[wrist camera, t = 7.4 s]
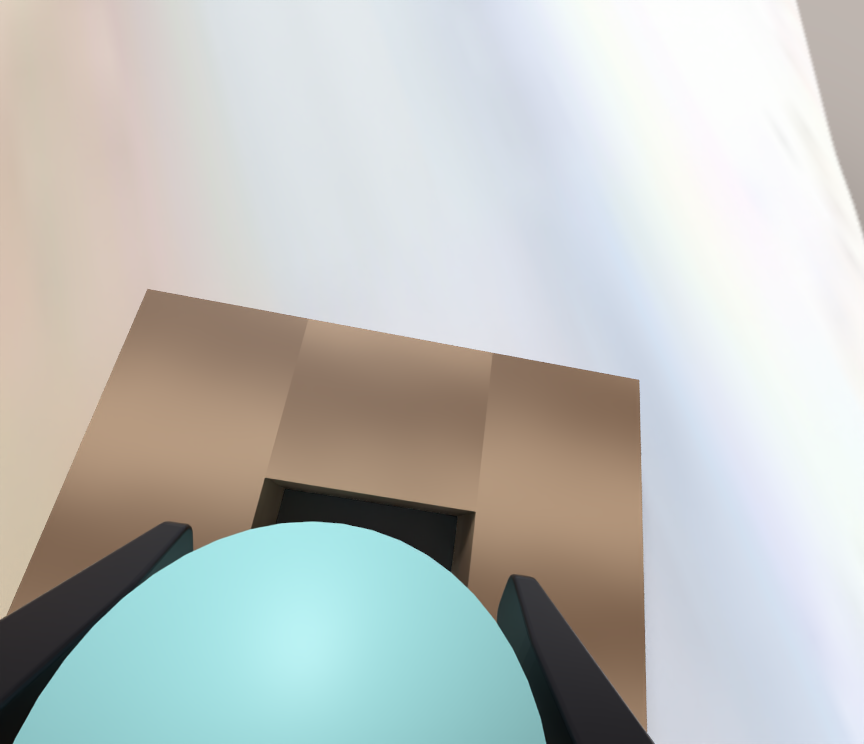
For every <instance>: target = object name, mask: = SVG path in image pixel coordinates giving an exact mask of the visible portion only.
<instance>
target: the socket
mask: <svg viewBox="0 0 864 744" xmlns="http://www.w3.org/2000/svg"><path fill="white" fill-rule="evenodd" d="M284 489H291V490H297V491H304V492H310V493H316V494H322V495H328V496H335V497H341V498H347V499H353V500H360V501H366V502H372V503H378V504H384V505H391V506H397V507H403V508H409V509H415V510H422V511H428V512H434V513H440V514H446V515H453V516H458V518H457V526H456V535H455V543H454V551H453V560H452V568H451V573H452V574H453V575H454V576H455V577H456V578H457V579H458V580H459V581H461V582H462V583H463V584H464V585H465V586H466V587H467V588H468V589H469V590H470V591H471V592H472V593H473V594H474V595H475V596H476V597H477V599H478V600H479V601H480V602H481V604H482V605H483V606H484V607H485V609H486V610H487V611H488V612H489V614H490V615H491V616H492V617H493V619H494V620H495V621H496V623H497V611H498V606H499V603H500V600H501V597H502V594H503V592H504V589H505V586H506V583H507V581H508V578H509V577H510V575H512V574H519V575H525V576H531V577H533V578H535V579H536V580H537V581H538V583H539V584H540V585H541V587H542V588H543V589H544V591H545V592H546V594H547V595H548V596H549V598H550V599H551V601H552V602H553V603H554V605H555V606H556V607H557V609H558V610H559V612H560V613H561V614H562V616H563V617H564V619H565V620H566V621H567V623H568V624H569V625H570V627H571V628H572V630H573V631H574V632H575V634H576V635H577V637H578V638H579V639H580V641H581V642H582V644H583V645H584V646H585V648H586V649H587V650H588V652H589V653H590V655H591V656H592V657H593V659H594V660H595V662H596V663H597V664H598V666H599V667H600V668H601V670H602V671H603V673H604V674H605V675H606V677H607V678H608V680H609V681H610V682H611V684H612V685H613V686H614V688H615V689H616V691H617V692H618V693H619V695H620V696H621V698H622V699H623V700H624V702H625V703H626V705H627V706H628V707H629V709H630V710H631V711H632V713H633V714H634V716H635V717H636V718H637V720H638V721H639V723H640V724H641V725H642V727H643V728H644V729H645V731H646V732H647V711H646V666H645V620H644V574H643V529H642V483H641V437H640V391H639V380H636V379H631V378H626V377H620V376H615V375H609V374H604V373H599V372H593V371H588V370H582V369H577V368H572V367H566V366H561V365H555V364H550V363H545V362H539V361H534V360H528V359H523V358H518V357H512V356H507V355H501V354H496V353H491V352H485V351H480V350H474V349H469V348H463V347H458V346H453V345H447V344H442V343H436V342H431V341H426V340H420V339H415V338H409V337H404V336H399V335H393V334H388V333H382V332H377V331H372V330H366V329H361V328H355V327H350V326H345V325H339V324H334V323H328V322H323V321H318V320H312V319H307V318H301V317H296V316H291V315H285V314H280V313H274V312H269V311H264V310H258V309H253V308H247V307H242V306H237V305H231V304H226V303H220V302H215V301H210V300H204V299H199V298H193V297H188V296H183V295H177V294H172V293H166V292H161V291H156V290H150V289H147V291H146V294H145V296H144V298H143V301H142V303H141V305H140V308H139V310H138V312H137V315H136V317H135V319H134V322H133V324H132V326H131V329H130V331H129V333H128V335H127V338H126V340H125V342H124V345H123V347H122V349H121V352H120V354H119V356H118V359H117V361H116V363H115V366H114V368H113V370H112V372H111V375H110V377H109V379H108V382H107V384H106V386H105V389H104V391H103V393H102V396H101V398H100V400H99V403H98V405H97V407H96V410H95V412H94V414H93V416H92V419H91V421H90V423H89V426H88V428H87V430H86V433H85V435H84V437H83V440H82V442H81V444H80V447H79V449H78V451H77V454H76V456H75V458H74V460H73V463H72V465H71V467H70V470H69V472H68V474H67V477H66V479H65V481H64V484H63V486H62V488H61V491H60V493H59V495H58V498H57V500H56V502H55V504H54V507H53V509H52V511H51V514H50V516H49V518H48V521H47V523H46V525H45V528H44V530H43V532H42V535H41V537H40V539H39V541H38V544H37V546H36V548H35V551H34V553H33V555H32V558H31V560H30V562H29V565H28V567H27V569H26V572H25V574H24V576H23V579H22V581H21V583H20V585H19V588H18V590H17V592H16V595H15V597H14V599H13V602H12V604H11V606H10V609H9V611H8V613H7V615H9V614H11V613H12V612H14V611H16V610H17V609H19V608H21V607H22V606H24V605H26V604H27V603H29V602H31V601H32V600H34V599H36V598H37V597H39V596H41V595H42V594H44V593H45V592H47V591H49V590H50V589H52V588H54V587H55V586H57V585H59V584H60V583H62V582H64V581H65V580H67V579H69V578H70V577H72V576H74V575H75V574H77V573H79V572H80V571H82V570H84V569H85V568H87V567H89V566H90V565H92V564H94V563H95V562H97V561H99V560H100V559H102V558H104V557H105V556H107V555H109V554H110V553H112V552H114V551H115V550H117V549H119V548H120V547H122V546H124V545H125V544H127V543H129V542H130V541H132V540H134V539H135V538H137V537H139V536H140V535H142V534H144V533H145V532H147V531H149V530H150V529H152V528H154V527H155V526H157V525H159V524H160V523H162V522H165V521H172V522H179V523H186V524H189V525H190V526H191V527H192V530H193V549H194V551H195V550H197V549H199V548H201V547H204V546H206V545H208V544H210V543H212V542H214V541H216V540H219V539H222V538H225V537H228V536H231V535H234V534H237V533H240V532H244V531H247V530H250V529H255V528H260V527H265V526H270V525H275V524H276V521H277V517H278V513H279V509H280V505H281V501H282V497H283V493H284Z"/></svg>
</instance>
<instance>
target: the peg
mask: <svg viewBox="0 0 864 744" xmlns="http://www.w3.org/2000/svg"><path fill="white" fill-rule="evenodd" d="M13 744H546V740H545V736H544V731H543V727H542V723H541V718H540V715H539V712H538V709H537V706H536V703H535V700H534V697H533V694H532V692H531V689H530V686H529V683H528V680H527V678H526V676H525V674H524V672H523V670H522V668H521V665H520V663H519V661H518V659H517V657H516V655H515V653H514V651H513V649H512V647H511V645H510V644H509V642H508V641H507V639H506V637H505V636H504V634H503V633H502V631H501V629H500V628H499V626H498V624H497V623H496V621H495V620H494V619H493V617H492V616H491V615H490V614H489V612H488V611H487V610H486V609H485V607H484V606H483V605H482V604H481V602H480V601H479V600H478V599H477V597H476V596H475V595H474V594H473V593H472V592H471V591H470V590H469V589H468V588H467V587H466V586H465V585H464V584H463V583H462V582H461V581H459V580H458V579H457V578H456V577H455V576H454V575H453V574H452V573H451V572H450V571H448V570H447V569H446V568H444V567H443V566H441V565H440V564H439V563H437V562H436V561H435V560H433V559H432V558H430V557H429V556H428V555H426V554H424V553H423V552H421V551H419V550H417V549H415V548H413V547H411V546H410V545H408V544H406V543H404V542H402V541H400V540H397V539H395V538H392V537H389V536H387V535H384V534H381V533H379V532H376V531H373V530H369V529H365V528H360V527H355V526H351V525H346V524H339V523H326V522H296V523H281V524H276V525H270V526H265V527H260V528H255V529H250V530H247V531H244V532H240V533H237V534H234V535H231V536H228V537H225V538H222V539H219V540H216V541H214V542H212V543H210V544H208V545H206V546H204V547H201V548H199V549H197V550H195V551H193V552H191V553H188V554H186V555H185V556H183V557H181V558H180V559H178V560H176V561H175V562H173V563H171V564H170V565H168V566H166V567H165V568H163V569H162V570H160V571H158V572H157V573H155V574H154V575H152V576H151V577H150V578H148V579H147V580H146V581H144V582H143V583H142V584H141V585H139V586H138V587H137V588H135V589H134V590H133V591H131V592H130V593H129V594H128V595H126V596H125V597H124V598H123V599H121V600H120V601H119V602H118V603H117V604H116V605H115V606H114V607H113V608H112V609H111V610H110V611H109V612H108V613H107V614H106V615H105V616H104V617H103V618H102V619H100V620H99V621H98V622H97V623H96V624H95V625H94V626H93V627H92V628H91V630H90V631H89V632H88V633H87V634H86V635H85V637H84V638H83V639H82V640H81V641H80V642H79V644H78V645H77V646H76V647H75V648H74V649H73V651H72V652H71V653H70V654H69V655H68V656H67V658H66V659H65V660H64V661H63V663H62V664H61V666H60V667H59V669H58V670H57V671H56V673H55V674H54V676H53V677H52V679H51V680H50V681H49V683H48V684H47V686H46V687H45V689H44V690H43V691H42V693H41V694H40V696H39V697H38V699H37V701H36V703H35V704H34V706H33V708H32V710H31V712H30V713H29V715H28V717H27V719H26V720H25V722H24V724H23V726H22V728H21V729H20V731H19V733H18V735H17V736H16V738H15V740H14V743H13Z"/></svg>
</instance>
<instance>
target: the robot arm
mask: <svg viewBox="0 0 864 744" xmlns="http://www.w3.org/2000/svg"><path fill="white" fill-rule="evenodd" d="M193 551H194V549H193V530H192V527H191V526H190V525H189V524H186V523H179V522H172V521H165V522H162V523H160V524H159V525H157V526H155V527H154V528H152V529H150V530H149V531H147V532H145V533H144V534H142V535H140V536H139V537H137V538H135V539H134V540H132V541H130V542H129V543H127V544H125V545H124V546H122V547H120V548H119V549H117V550H115V551H114V552H112V553H110V554H109V555H107V556H105V557H104V558H102V559H100V560H99V561H97V562H95V563H94V564H92V565H90V566H89V567H87V568H85V569H84V570H82V571H80V572H79V573H77V574H75V575H74V576H72V577H70V578H69V579H67V580H65V581H64V582H62V583H60V584H59V585H57V586H55V587H54V588H52V589H50V590H49V591H47V592H45V593H44V594H42V595H41V596H39V597H37V598H36V599H34V600H32V601H31V602H29V603H27V604H26V605H24V606H22V607H21V608H19V609H17V610H16V611H14V612H12V613H11V614H9V615H7V616H6V617H4V618H2V619H1V620H0V744H13V743H14V740H15V738H16V736H17V735H18V733H19V731H20V729H21V728H22V726H23V724H24V722H25V720H26V719H27V717H28V715H29V713H30V712H31V710H32V708H33V706H34V704H35V703H36V701H37V699H38V697H39V696H40V694H41V693H42V691H43V690H44V689H45V687H46V686H47V684H48V683H49V681H50V680H51V679H52V677H53V676H54V674H55V673H56V671H57V670H58V669H59V667H60V666H61V664H62V663H63V661H64V660H65V659H66V658H67V656H68V655H69V654H70V653H71V652H72V651H73V649H74V648H75V647H76V646H77V645H78V644H79V642H80V641H81V640H82V639H83V638H84V637H85V635H86V634H87V633H88V632H89V631H90V630H91V628H92V627H93V626H94V625H95V624H96V623H97V622H98V621H99V620H100V619H102V618H103V617H104V616H105V615H106V614H107V613H108V612H109V611H110V610H111V609H112V608H113V607H114V606H115V605H116V604H117V603H118V602H119V601H120V600H121V599H123V598H124V597H125V596H126V595H128V594H129V593H130V592H131V591H133V590H134V589H135V588H137V587H138V586H139V585H141V584H142V583H143V582H144V581H146V580H147V579H148V578H150V577H151V576H152V575H154V574H155V573H157V572H158V571H160V570H162V569H163V568H165V567H166V566H168V565H170V564H171V563H173V562H175V561H176V560H178V559H180V558H181V557H183V556H185V555H186V554H188V553H191V552H193ZM497 624H498V626H499V628H500V629H501V631H502V633H503V634H504V636H505V637H506V639H507V641H508V642H509V644H510V645H511V647H512V649H513V651H514V653H515V655H516V657H517V659H518V661H519V663H520V665H521V668H522V670H523V672H524V674H525V676H526V678H527V680H528V683H529V686H530V689H531V692H532V694H533V697H534V700H535V703H536V706H537V709H538V712H539V715H540V718H541V723H542V727H543V731H544V736H545V740H546V744H655V743H654V742H653V741H652V739H651V738H650V736H649V735H648V734H647V732H646V731H645V729H644V728H643V727H642V725H641V724H640V723H639V721H638V720H637V718H636V717H635V716H634V714H633V713H632V711H631V710H630V709H629V707H628V706H627V705H626V703H625V702H624V700H623V699H622V698H621V696H620V695H619V693H618V692H617V691H616V689H615V688H614V686H613V685H612V684H611V682H610V681H609V680H608V678H607V677H606V675H605V674H604V673H603V671H602V670H601V668H600V667H599V666H598V664H597V663H596V662H595V660H594V659H593V657H592V656H591V655H590V653H589V652H588V650H587V649H586V648H585V646H584V645H583V644H582V642H581V641H580V639H579V638H578V637H577V635H576V634H575V632H574V631H573V630H572V628H571V627H570V625H569V624H568V623H567V621H566V620H565V619H564V617H563V616H562V614H561V613H560V612H559V610H558V609H557V607H556V606H555V605H554V603H553V602H552V601H551V599H550V598H549V596H548V595H547V594H546V592H545V591H544V589H543V588H542V587H541V585H540V584H539V583H538V581H537V580H536V579H535V578H533V577H531V576H525V575H519V574H512V575H510V577H509V578H508V581H507V583H506V586H505V589H504V592H503V594H502V597H501V600H500V603H499V606H498V611H497Z"/></svg>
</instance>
